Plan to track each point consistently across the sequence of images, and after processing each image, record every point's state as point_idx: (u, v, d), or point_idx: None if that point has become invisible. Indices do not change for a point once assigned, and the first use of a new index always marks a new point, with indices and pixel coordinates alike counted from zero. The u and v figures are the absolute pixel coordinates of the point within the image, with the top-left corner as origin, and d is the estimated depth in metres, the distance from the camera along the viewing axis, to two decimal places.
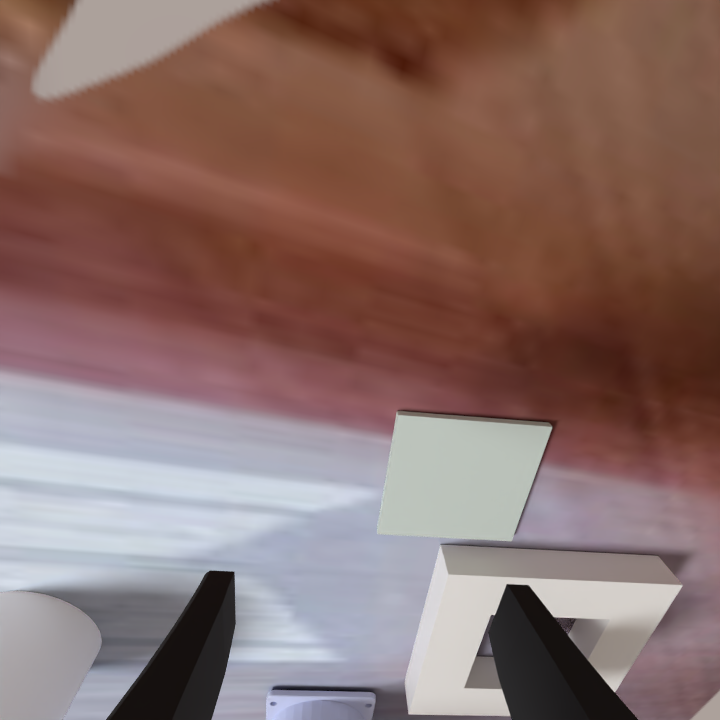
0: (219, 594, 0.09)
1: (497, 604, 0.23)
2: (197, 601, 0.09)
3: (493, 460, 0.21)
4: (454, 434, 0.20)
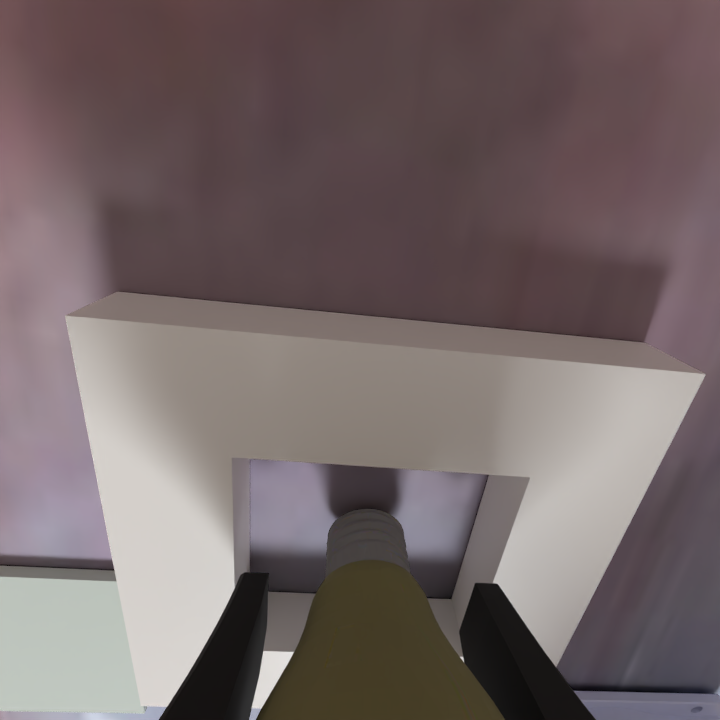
0: (256, 596, 0.09)
1: None
2: (236, 603, 0.09)
3: None
4: None
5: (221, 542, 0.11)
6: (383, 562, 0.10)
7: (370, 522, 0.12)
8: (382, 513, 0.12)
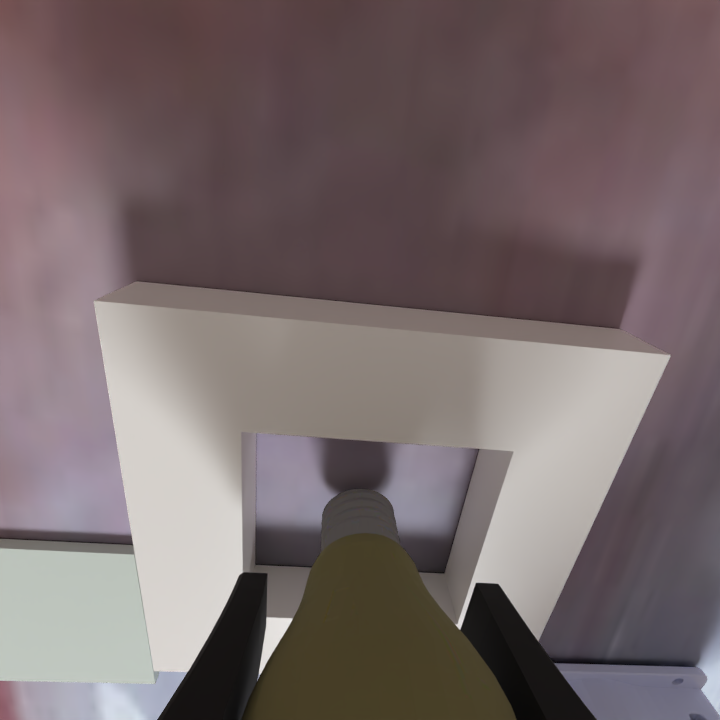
0: (255, 596, 0.09)
1: (214, 612, 0.13)
2: (235, 603, 0.09)
3: None
4: None
5: (230, 512, 0.12)
6: (375, 535, 0.11)
7: (362, 501, 0.12)
8: (373, 492, 0.13)
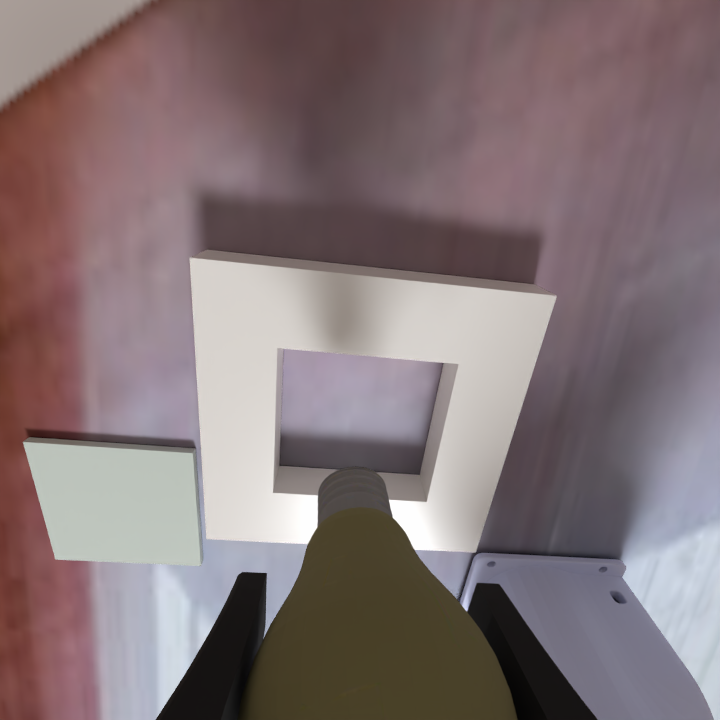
0: (254, 596, 0.09)
1: (252, 489, 0.19)
2: (233, 603, 0.09)
3: (82, 485, 0.20)
4: (62, 519, 0.21)
5: (268, 408, 0.17)
6: (369, 508, 0.11)
7: (356, 478, 0.13)
8: (366, 470, 0.13)
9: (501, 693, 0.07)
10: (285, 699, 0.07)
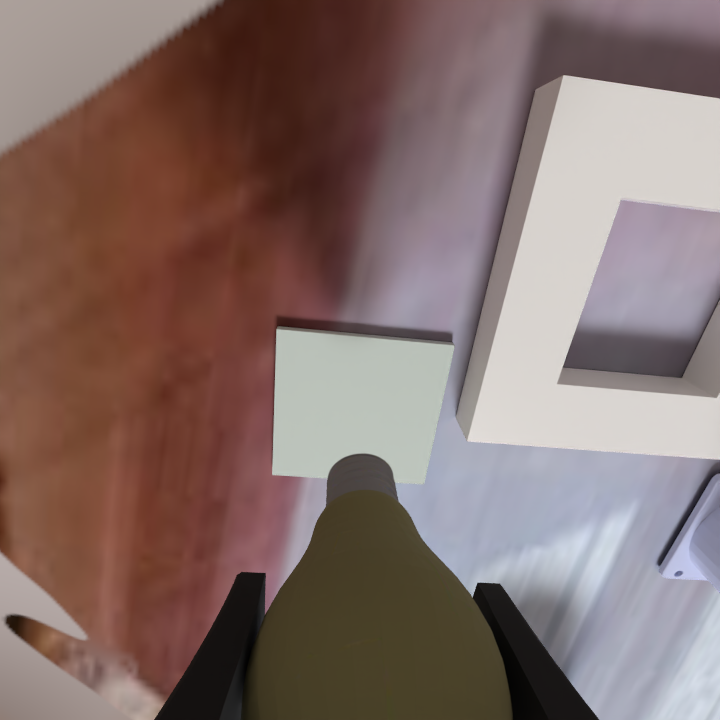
0: (253, 595, 0.09)
1: (536, 379, 0.17)
2: (232, 602, 0.09)
3: (325, 384, 0.18)
4: (292, 426, 0.19)
5: (586, 275, 0.15)
6: (376, 491, 0.12)
7: (365, 463, 0.13)
8: (375, 457, 0.14)
9: (495, 661, 0.08)
10: (293, 648, 0.07)
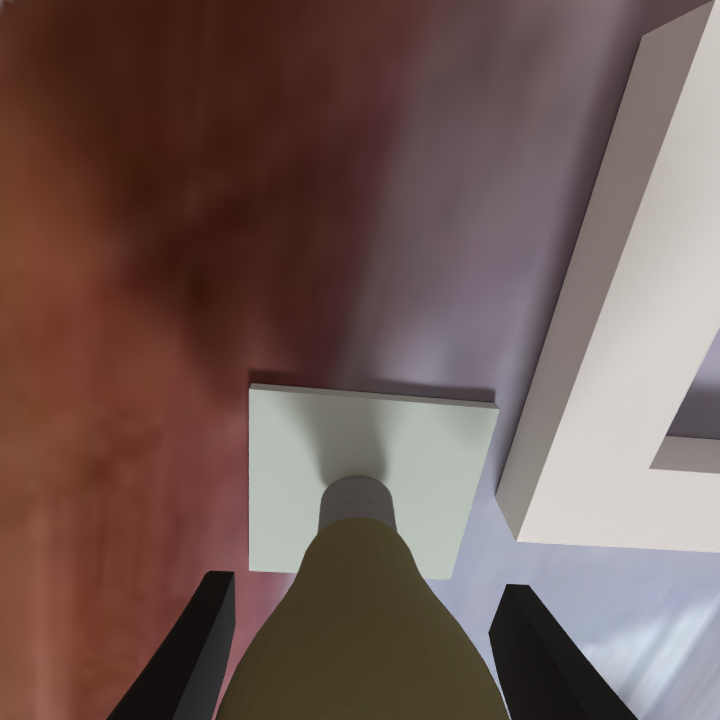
0: (219, 594, 0.09)
1: (620, 462, 0.12)
2: (197, 601, 0.09)
3: (318, 460, 0.13)
4: (274, 512, 0.14)
5: (710, 321, 0.10)
6: (372, 519, 0.11)
7: (361, 487, 0.12)
8: (373, 480, 0.13)
9: None
10: (261, 717, 0.06)
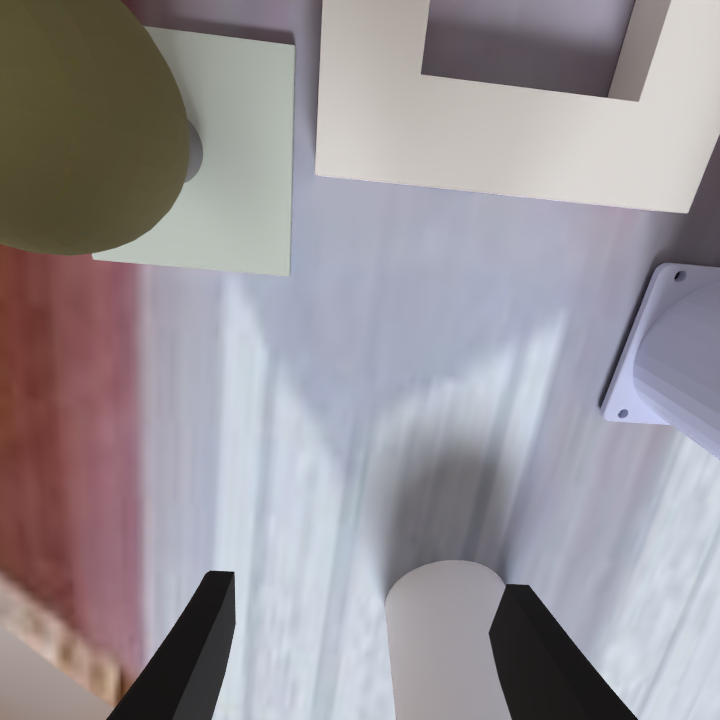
0: (219, 594, 0.09)
1: (392, 65, 0.13)
2: (197, 601, 0.09)
3: None
4: None
5: None
6: None
7: None
8: None
9: (120, 8, 0.07)
10: None
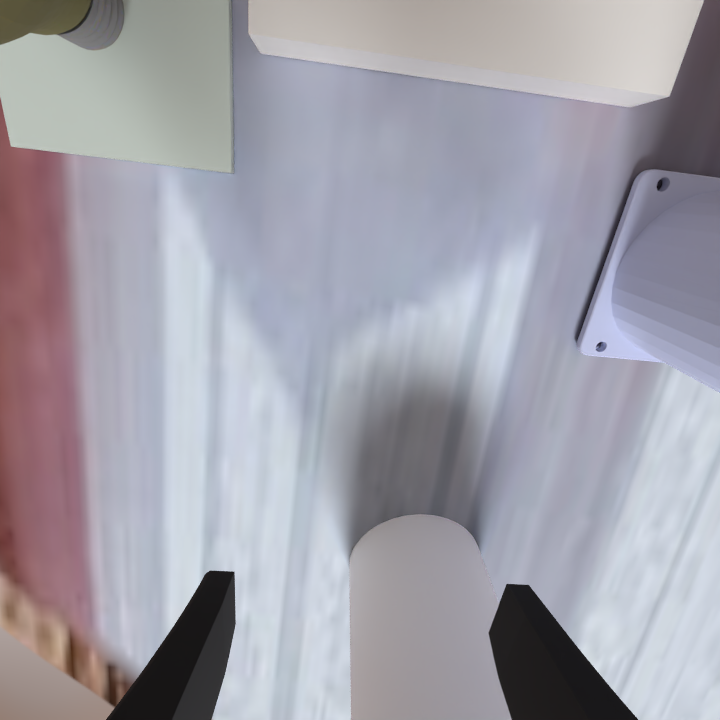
0: (219, 594, 0.09)
1: None
2: (197, 601, 0.09)
3: None
4: (18, 48, 0.13)
5: None
6: None
7: None
8: None
9: None
10: None
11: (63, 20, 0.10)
